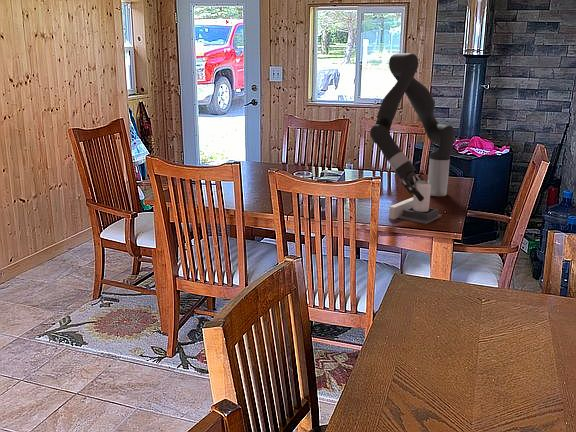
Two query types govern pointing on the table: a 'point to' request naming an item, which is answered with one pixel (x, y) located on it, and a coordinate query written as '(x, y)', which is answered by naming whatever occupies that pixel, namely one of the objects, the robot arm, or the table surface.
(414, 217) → the keeper
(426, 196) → the can
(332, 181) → the drinking glass
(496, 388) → the table surface
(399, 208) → the door edge
